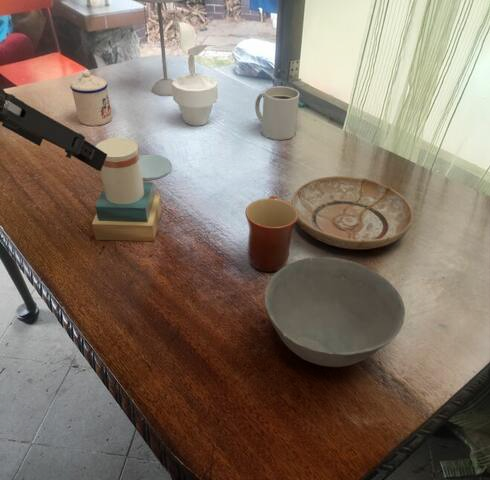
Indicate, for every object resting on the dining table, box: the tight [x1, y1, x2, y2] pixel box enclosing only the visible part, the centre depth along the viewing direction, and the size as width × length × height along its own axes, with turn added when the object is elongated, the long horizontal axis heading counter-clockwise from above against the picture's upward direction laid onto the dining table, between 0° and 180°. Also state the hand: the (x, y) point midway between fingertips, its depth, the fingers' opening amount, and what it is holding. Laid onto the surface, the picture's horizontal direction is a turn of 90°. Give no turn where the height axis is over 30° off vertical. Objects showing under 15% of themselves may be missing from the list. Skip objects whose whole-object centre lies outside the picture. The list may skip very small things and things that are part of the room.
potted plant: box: [166, 13, 218, 127], centre depth 113 cm, size 13×12×25 cm
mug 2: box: [245, 195, 298, 273], centre depth 79 cm, size 12×9×10 cm
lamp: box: [133, 0, 184, 97], centre depth 125 cm, size 17×17×33 cm
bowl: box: [264, 256, 406, 368], centre depth 65 cm, size 19×19×10 cm
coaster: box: [139, 154, 173, 181], centre depth 104 cm, size 11×11×1 cm
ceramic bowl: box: [290, 175, 414, 250], centre depth 89 cm, size 23×24×5 cm
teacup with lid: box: [69, 70, 113, 127], centre depth 118 cm, size 12×9×12 cm
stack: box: [91, 181, 163, 242], centre depth 86 cm, size 11×11×6 cm
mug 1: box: [254, 85, 300, 141], centre depth 116 cm, size 11×10×10 cm
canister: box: [94, 137, 145, 204], centre depth 81 cm, size 7×7×9 cm
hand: (71, 149), depth 70 cm, fingers open, 13 cm apart
